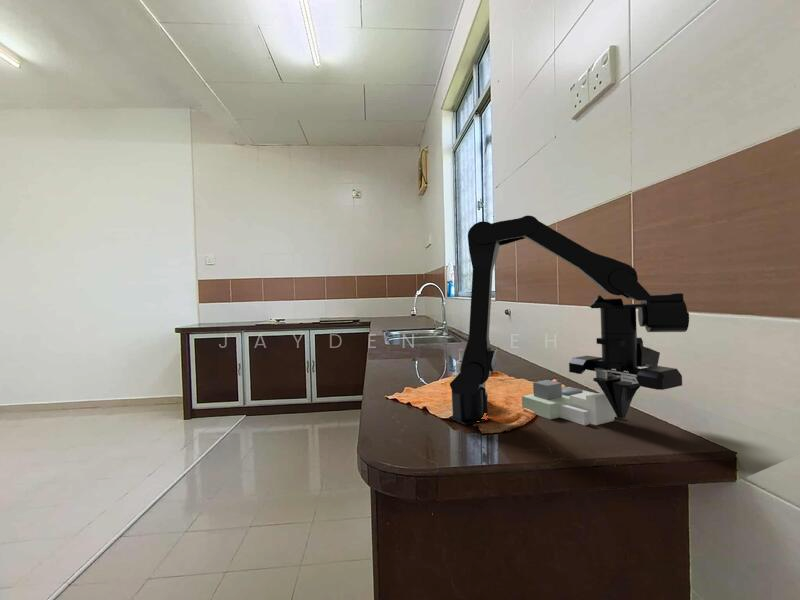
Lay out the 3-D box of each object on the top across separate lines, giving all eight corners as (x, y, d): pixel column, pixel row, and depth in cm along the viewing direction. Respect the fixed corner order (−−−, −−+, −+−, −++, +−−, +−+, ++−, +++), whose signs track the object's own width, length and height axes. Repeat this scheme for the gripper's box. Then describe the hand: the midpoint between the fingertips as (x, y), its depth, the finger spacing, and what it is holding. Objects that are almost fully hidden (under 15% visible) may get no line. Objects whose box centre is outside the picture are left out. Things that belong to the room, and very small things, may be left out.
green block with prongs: (574, 427, 76) (573, 395, 75) (522, 409, 88) (521, 382, 88) (625, 415, 81) (624, 385, 81) (569, 399, 94) (568, 374, 94)
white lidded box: (596, 425, 77) (595, 397, 76) (570, 417, 82) (569, 391, 82) (614, 421, 79) (613, 393, 79) (588, 413, 84) (587, 388, 84)
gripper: (700, 332, 69) (703, 424, 69) (604, 326, 86) (607, 399, 86) (658, 338, 64) (661, 436, 65) (565, 330, 81) (568, 408, 82)
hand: (621, 417), depth 74 cm, fingers closed
